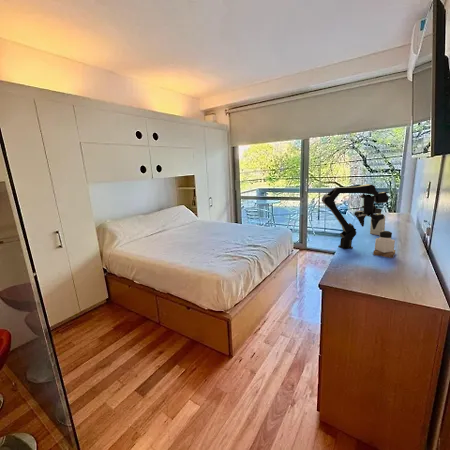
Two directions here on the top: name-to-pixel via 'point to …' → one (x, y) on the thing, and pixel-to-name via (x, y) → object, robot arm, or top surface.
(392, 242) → the medicine bottle
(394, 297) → the top surface
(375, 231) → the skincare box
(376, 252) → the walnut block
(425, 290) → the top surface
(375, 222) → the robot arm
